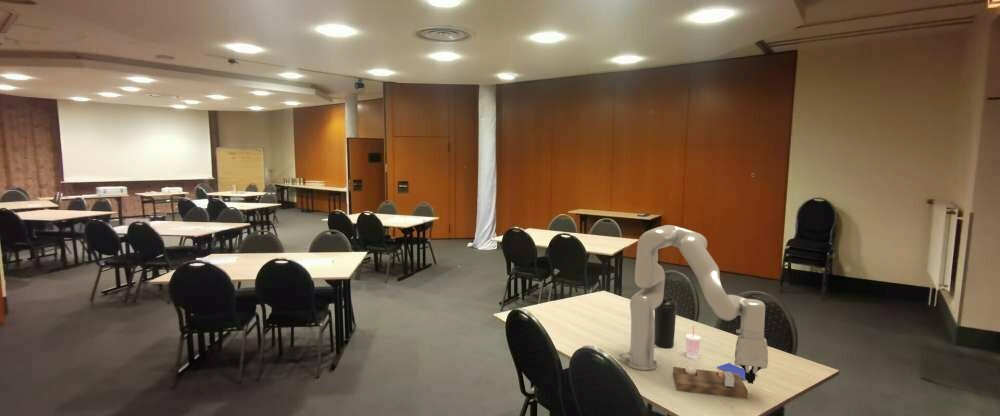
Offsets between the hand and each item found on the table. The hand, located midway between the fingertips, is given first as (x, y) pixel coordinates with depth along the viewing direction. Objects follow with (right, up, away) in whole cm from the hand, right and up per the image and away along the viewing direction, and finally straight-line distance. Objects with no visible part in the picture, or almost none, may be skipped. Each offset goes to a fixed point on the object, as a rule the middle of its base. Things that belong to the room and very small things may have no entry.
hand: (749, 381), depth 169 cm
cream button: (-17, -2, +12) cm, 21 cm away
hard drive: (+4, -4, +18) cm, 19 cm away
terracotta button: (-5, -3, +9) cm, 11 cm away
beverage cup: (-7, -2, +34) cm, 35 cm away
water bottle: (-15, 0, +46) cm, 49 cm away
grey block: (-7, -1, +2) cm, 7 cm away
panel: (-12, -4, +7) cm, 15 cm away
